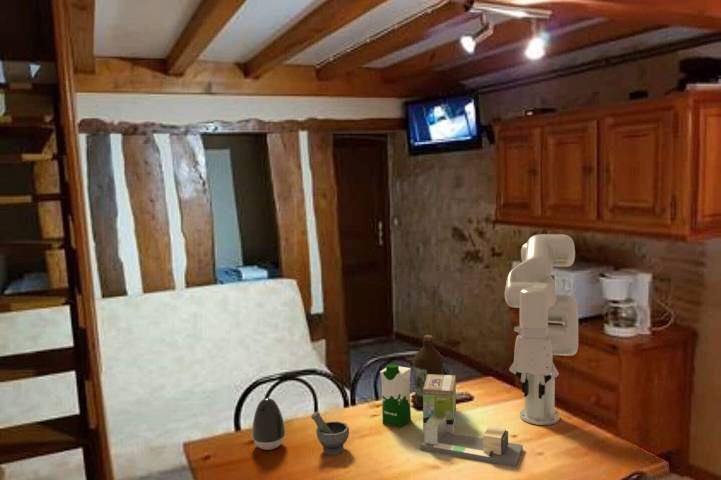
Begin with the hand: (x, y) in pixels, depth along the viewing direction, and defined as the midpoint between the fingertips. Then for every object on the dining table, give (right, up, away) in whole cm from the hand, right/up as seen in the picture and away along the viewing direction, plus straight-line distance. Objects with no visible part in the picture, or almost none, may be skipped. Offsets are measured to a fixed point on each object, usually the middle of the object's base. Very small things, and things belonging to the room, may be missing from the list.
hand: (533, 395), depth 166 cm
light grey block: (-26, -17, +14) cm, 34 cm away
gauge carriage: (-10, -17, +5) cm, 21 cm away
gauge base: (-16, -19, +10) cm, 26 cm away
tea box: (-22, -17, +28) cm, 40 cm away
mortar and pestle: (-57, -20, +13) cm, 62 cm away
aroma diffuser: (-77, -20, +16) cm, 81 cm away
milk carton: (-36, -17, +31) cm, 51 cm away
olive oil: (-24, -15, +45) cm, 54 cm away
